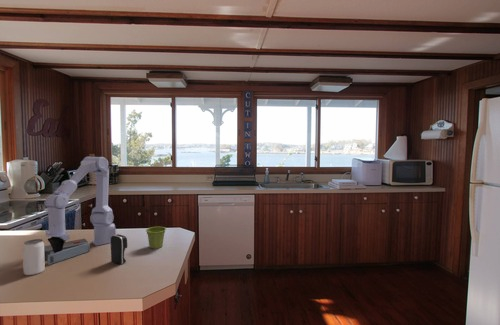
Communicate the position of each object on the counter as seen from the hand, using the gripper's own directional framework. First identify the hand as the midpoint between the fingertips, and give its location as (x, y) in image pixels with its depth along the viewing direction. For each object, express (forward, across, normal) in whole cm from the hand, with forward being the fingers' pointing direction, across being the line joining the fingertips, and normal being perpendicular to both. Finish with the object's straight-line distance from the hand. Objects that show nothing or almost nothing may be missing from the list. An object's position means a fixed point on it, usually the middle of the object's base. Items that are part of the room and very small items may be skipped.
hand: (57, 253), depth 115 cm
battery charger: (+3, +24, +12) cm, 27 cm away
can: (+3, +4, -10) cm, 11 cm away
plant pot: (+3, +24, +32) cm, 40 cm away
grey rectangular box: (+3, -5, +6) cm, 9 cm away
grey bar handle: (+3, +2, +4) cm, 5 cm away
